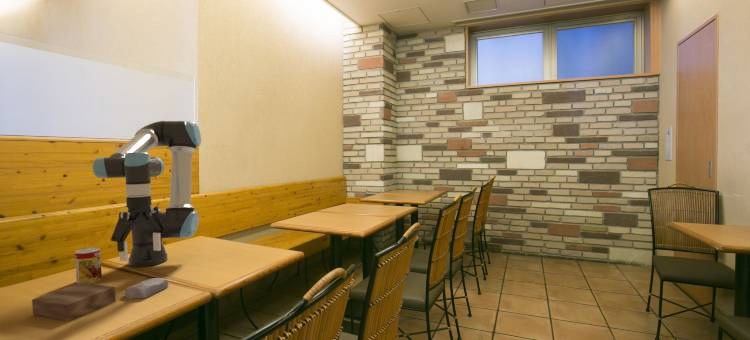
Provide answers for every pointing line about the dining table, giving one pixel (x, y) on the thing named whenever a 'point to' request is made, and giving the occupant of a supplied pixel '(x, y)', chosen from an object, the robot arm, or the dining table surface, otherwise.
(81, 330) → the dining table surface
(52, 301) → the walnut plinth
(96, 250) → the canned food
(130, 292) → the stone block
